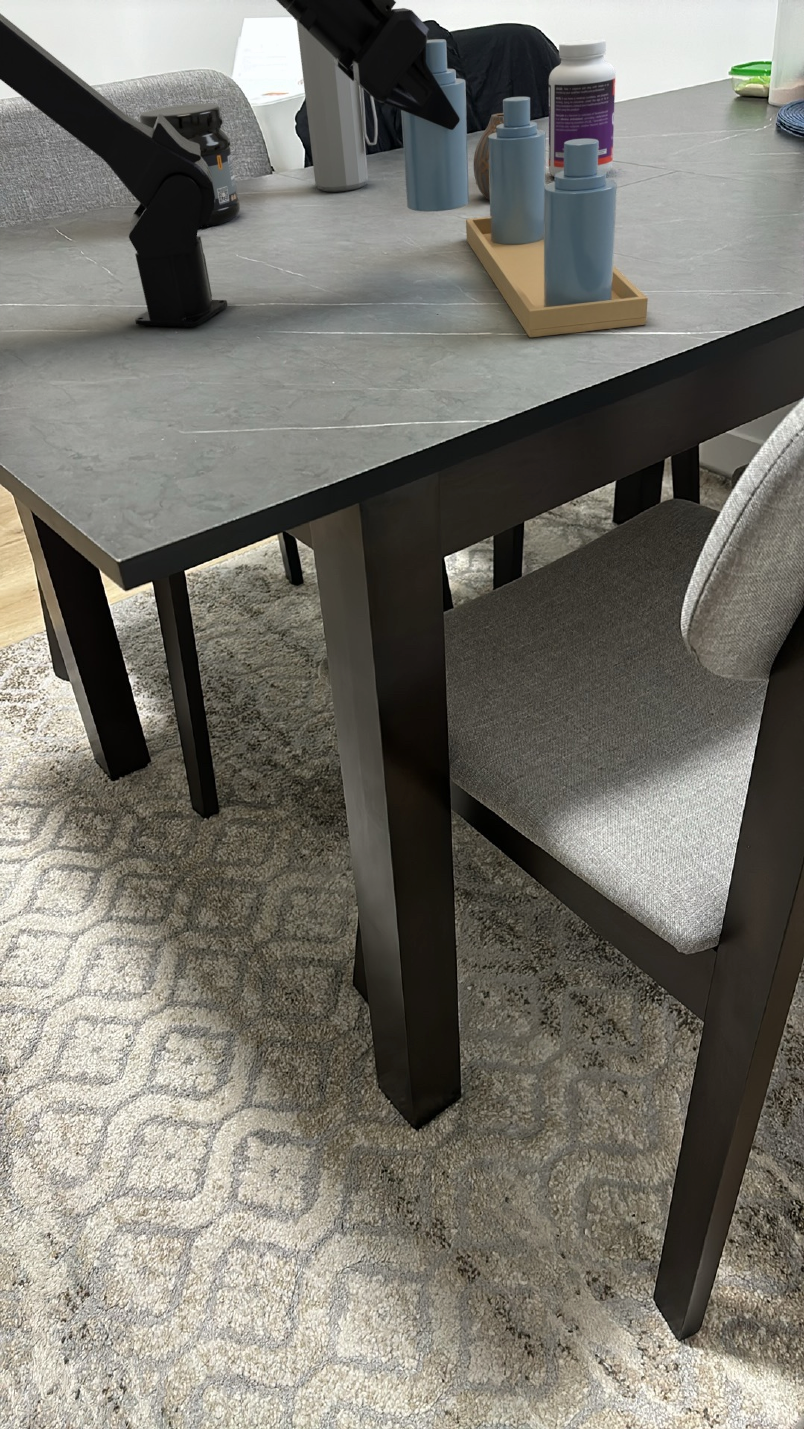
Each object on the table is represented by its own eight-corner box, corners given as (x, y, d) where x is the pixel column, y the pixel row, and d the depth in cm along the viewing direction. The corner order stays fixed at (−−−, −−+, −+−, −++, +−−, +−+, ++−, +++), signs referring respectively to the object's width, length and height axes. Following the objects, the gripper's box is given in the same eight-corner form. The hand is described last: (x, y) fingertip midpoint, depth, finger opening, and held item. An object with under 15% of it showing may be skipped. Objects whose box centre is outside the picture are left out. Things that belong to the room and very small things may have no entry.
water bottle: (306, 194, 136) (278, -40, 121) (326, 181, 142) (302, -44, 127) (372, 193, 133) (352, -47, 118) (390, 180, 139) (373, -50, 124)
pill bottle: (624, 175, 130) (630, 39, 121) (567, 184, 128) (570, 47, 119) (591, 166, 136) (595, 36, 127) (537, 175, 134) (537, 44, 125)
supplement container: (142, 223, 129) (118, 114, 122) (214, 206, 134) (196, 100, 127) (182, 235, 123) (160, 119, 115) (257, 216, 127) (241, 105, 120)
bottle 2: (619, 316, 84) (627, 143, 76) (551, 323, 84) (553, 151, 76) (601, 297, 89) (607, 132, 81) (537, 304, 88) (537, 139, 81)
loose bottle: (413, 214, 91) (403, 47, 84) (402, 202, 96) (391, 42, 88) (475, 206, 92) (470, 40, 84) (461, 195, 96) (455, 35, 89)
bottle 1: (550, 241, 105) (551, 99, 97) (495, 247, 105) (492, 105, 97) (538, 228, 109) (539, 92, 102) (486, 234, 109) (483, 98, 101)
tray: (646, 324, 84) (648, 297, 82) (529, 337, 83) (529, 311, 82) (555, 230, 110) (555, 209, 109) (466, 240, 110) (465, 219, 109)
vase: (536, 190, 127) (536, 108, 122) (526, 202, 122) (525, 118, 117) (481, 191, 129) (478, 111, 124) (469, 204, 124) (466, 121, 118)
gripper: (390, -128, 72) (543, 44, 79) (356, -116, 87) (487, 29, 94) (293, 19, 76) (447, 169, 84) (276, 7, 91) (408, 135, 98)
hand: (449, 120), depth 90 cm, fingers closed on loose bottle, 5 cm apart
